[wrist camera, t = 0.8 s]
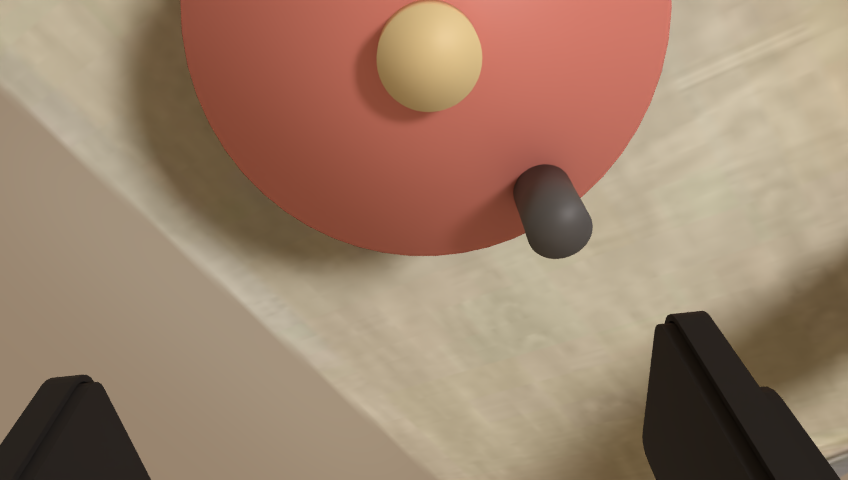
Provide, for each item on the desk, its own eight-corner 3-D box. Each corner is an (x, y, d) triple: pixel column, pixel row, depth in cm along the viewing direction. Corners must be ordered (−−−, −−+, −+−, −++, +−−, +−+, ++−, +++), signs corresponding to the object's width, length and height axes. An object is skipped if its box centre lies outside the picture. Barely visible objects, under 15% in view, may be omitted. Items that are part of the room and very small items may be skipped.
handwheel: (91, 15, 24) (25, 46, 20) (467, -408, 19) (487, -492, 14) (403, 304, 32) (403, 370, 28) (738, 70, 26) (803, 109, 22)
